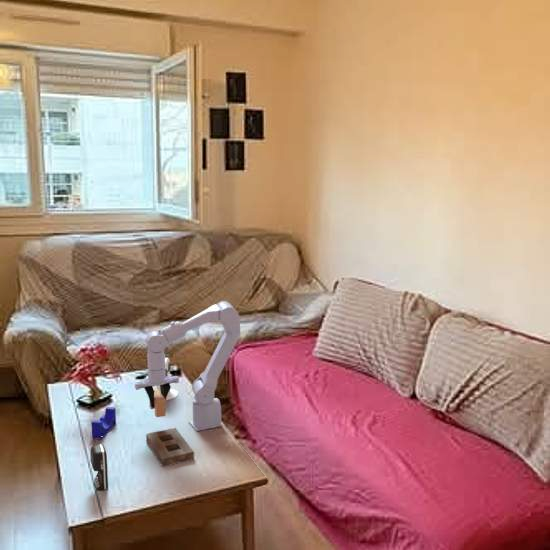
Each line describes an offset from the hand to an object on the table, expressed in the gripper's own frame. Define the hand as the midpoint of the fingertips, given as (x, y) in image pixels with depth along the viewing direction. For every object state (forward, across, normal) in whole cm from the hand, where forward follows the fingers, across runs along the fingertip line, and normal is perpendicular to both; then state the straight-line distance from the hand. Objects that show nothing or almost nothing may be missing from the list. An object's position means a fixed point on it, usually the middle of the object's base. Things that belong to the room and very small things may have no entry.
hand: (157, 405), depth 201 cm
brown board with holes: (+9, +1, +15) cm, 17 cm away
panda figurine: (+9, -10, -28) cm, 31 cm away
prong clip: (+2, 0, 0) cm, 2 cm away
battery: (+9, +24, +26) cm, 37 cm away
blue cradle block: (+9, +17, -8) cm, 21 cm away
